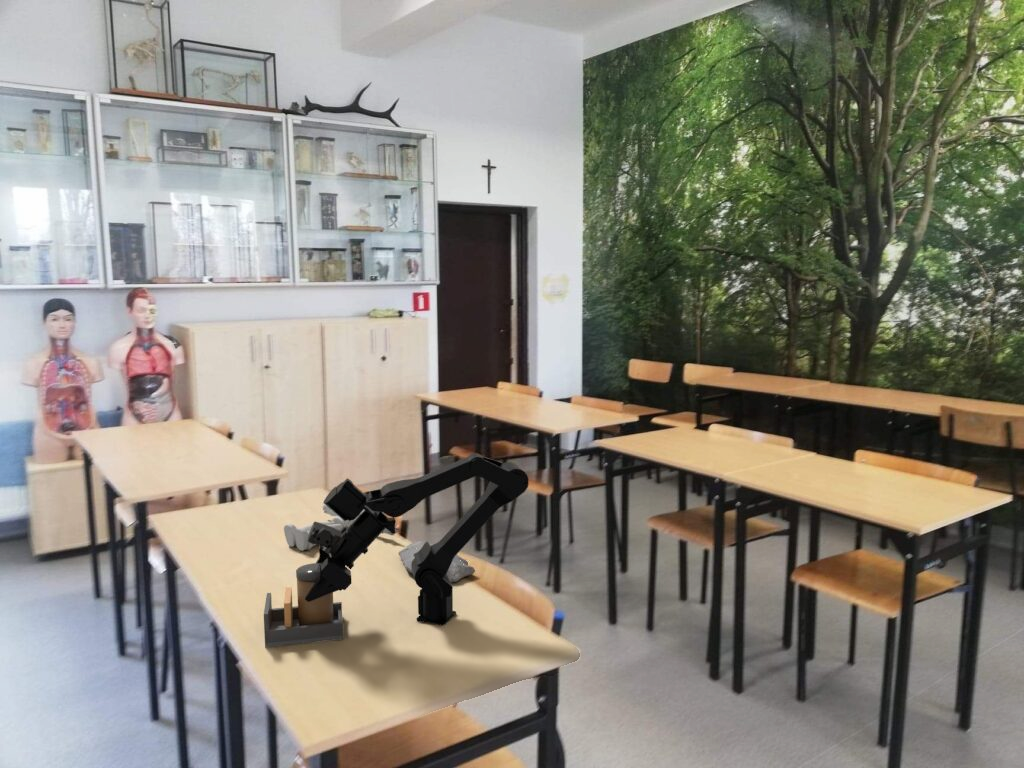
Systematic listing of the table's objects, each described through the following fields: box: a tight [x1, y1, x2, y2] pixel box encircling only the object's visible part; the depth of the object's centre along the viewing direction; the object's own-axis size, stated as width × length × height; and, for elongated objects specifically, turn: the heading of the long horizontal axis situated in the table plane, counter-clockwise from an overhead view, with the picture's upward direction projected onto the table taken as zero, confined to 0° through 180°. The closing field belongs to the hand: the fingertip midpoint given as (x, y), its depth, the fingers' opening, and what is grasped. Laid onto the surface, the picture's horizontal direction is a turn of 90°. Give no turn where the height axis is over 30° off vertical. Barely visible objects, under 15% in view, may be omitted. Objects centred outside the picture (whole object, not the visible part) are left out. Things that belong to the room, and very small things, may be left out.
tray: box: [263, 592, 344, 648], centre depth 160 cm, size 15×11×7 cm
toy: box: [283, 503, 398, 552], centre depth 219 cm, size 33×8×30 cm
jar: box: [295, 562, 334, 626], centre depth 160 cm, size 7×7×12 cm
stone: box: [398, 540, 476, 583], centre depth 195 cm, size 16×6×25 cm
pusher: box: [283, 586, 293, 628], centre depth 159 cm, size 1×8×7 cm, turn 14°
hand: (306, 591), depth 159 cm, fingers open, 9 cm apart
